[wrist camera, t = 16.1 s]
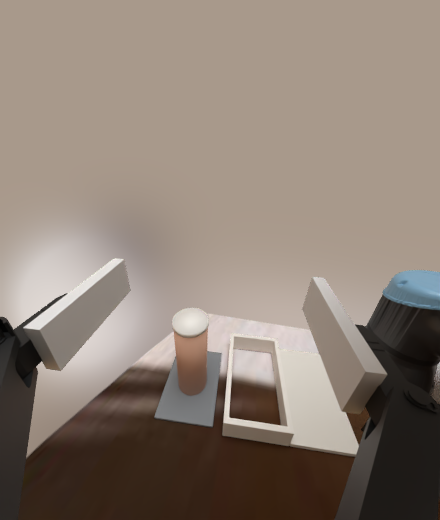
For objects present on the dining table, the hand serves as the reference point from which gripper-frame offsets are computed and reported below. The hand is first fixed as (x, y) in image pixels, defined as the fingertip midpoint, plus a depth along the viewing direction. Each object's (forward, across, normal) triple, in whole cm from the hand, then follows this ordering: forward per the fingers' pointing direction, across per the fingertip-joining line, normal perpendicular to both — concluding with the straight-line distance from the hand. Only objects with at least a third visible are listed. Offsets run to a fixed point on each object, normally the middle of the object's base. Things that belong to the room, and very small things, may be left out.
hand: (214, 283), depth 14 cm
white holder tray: (+13, +12, -32) cm, 37 cm away
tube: (+12, -5, -32) cm, 34 cm away
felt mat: (+12, -5, -32) cm, 34 cm away
